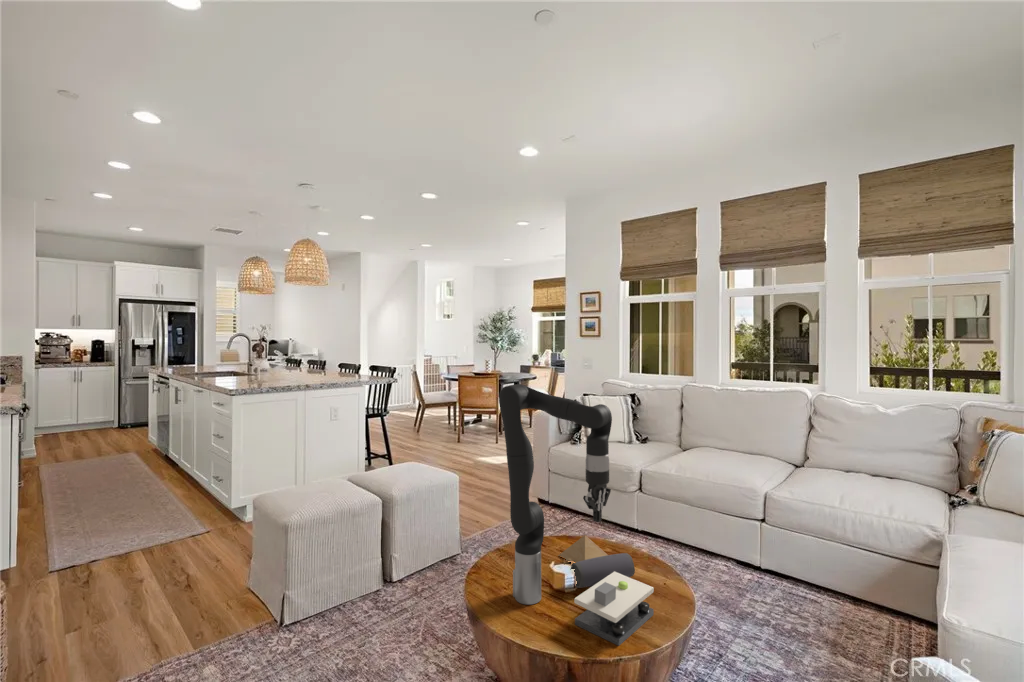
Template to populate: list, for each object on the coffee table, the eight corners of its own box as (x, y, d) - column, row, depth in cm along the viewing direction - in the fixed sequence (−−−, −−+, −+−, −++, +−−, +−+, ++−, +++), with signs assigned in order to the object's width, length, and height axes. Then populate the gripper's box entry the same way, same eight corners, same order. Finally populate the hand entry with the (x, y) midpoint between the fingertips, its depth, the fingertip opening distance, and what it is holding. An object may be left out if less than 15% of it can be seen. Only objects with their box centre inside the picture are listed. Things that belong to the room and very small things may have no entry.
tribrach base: (574, 624, 161) (574, 605, 161) (611, 597, 177) (611, 580, 177) (618, 646, 150) (618, 625, 150) (653, 614, 166) (653, 596, 166)
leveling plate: (574, 606, 160) (574, 586, 159) (614, 578, 177) (614, 560, 177) (615, 626, 150) (616, 605, 149) (653, 595, 167) (654, 575, 167)
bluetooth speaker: (621, 573, 195) (621, 547, 195) (635, 584, 186) (635, 557, 186) (569, 583, 187) (569, 557, 187) (581, 596, 178) (581, 568, 178)
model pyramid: (555, 557, 209) (555, 533, 209) (585, 546, 219) (585, 523, 219) (583, 572, 196) (583, 547, 196) (614, 560, 206) (614, 536, 206)
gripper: (598, 461, 168) (598, 512, 169) (575, 469, 159) (575, 523, 159) (618, 465, 163) (618, 518, 164) (595, 474, 154) (595, 530, 154)
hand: (597, 521), depth 161 cm, fingers closed
